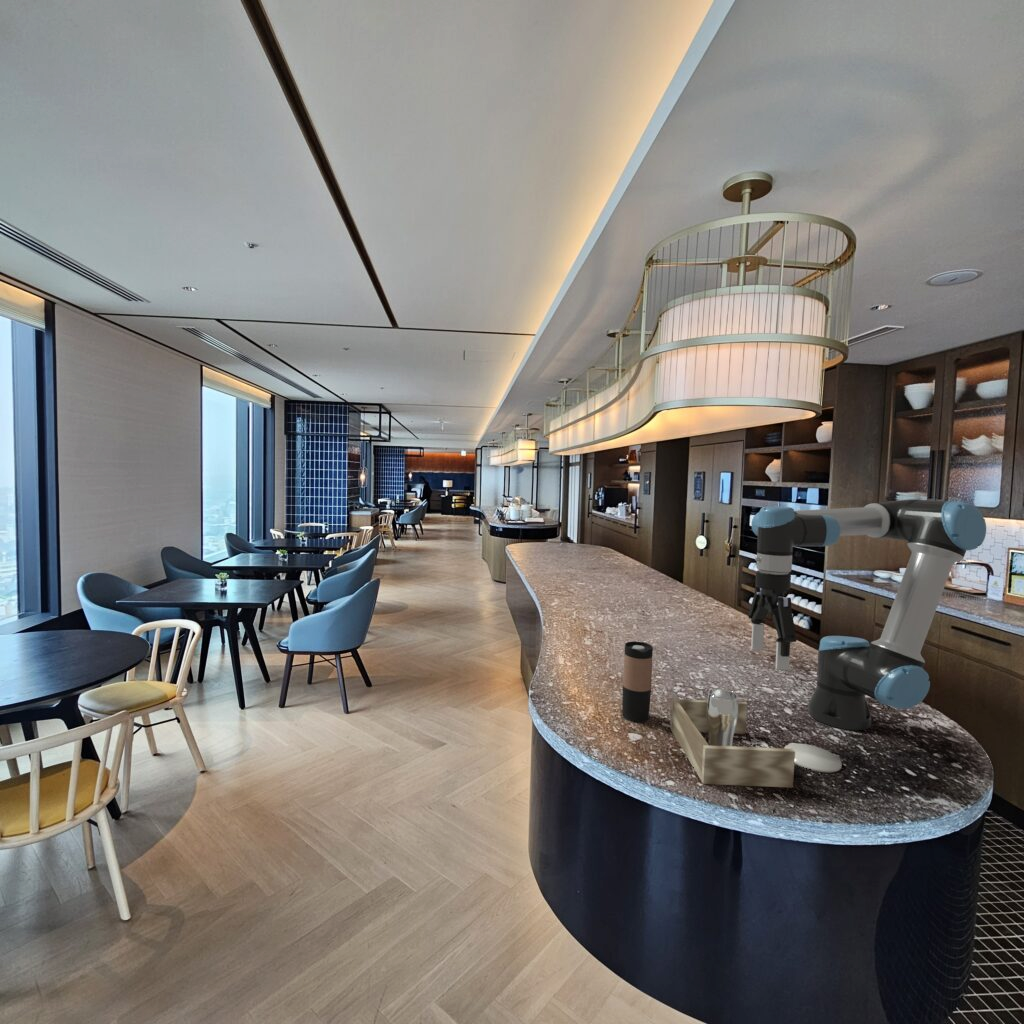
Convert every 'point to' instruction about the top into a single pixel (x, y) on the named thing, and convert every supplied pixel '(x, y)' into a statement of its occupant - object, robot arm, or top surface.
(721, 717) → the beer glass
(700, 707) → the open side box
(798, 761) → the coaster
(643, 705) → the travel mug
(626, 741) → the top surface
